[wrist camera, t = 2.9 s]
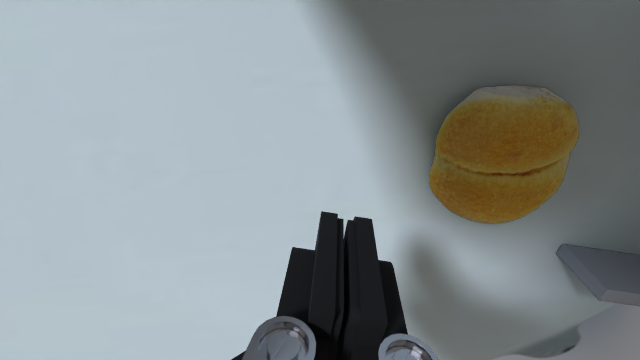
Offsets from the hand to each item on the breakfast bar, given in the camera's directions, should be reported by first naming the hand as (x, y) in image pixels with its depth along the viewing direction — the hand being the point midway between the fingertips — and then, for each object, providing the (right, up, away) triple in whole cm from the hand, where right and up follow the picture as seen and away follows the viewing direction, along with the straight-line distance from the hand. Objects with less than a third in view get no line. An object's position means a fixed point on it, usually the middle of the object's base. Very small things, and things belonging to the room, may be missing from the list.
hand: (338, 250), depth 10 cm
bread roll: (+11, +5, +10) cm, 16 cm away
